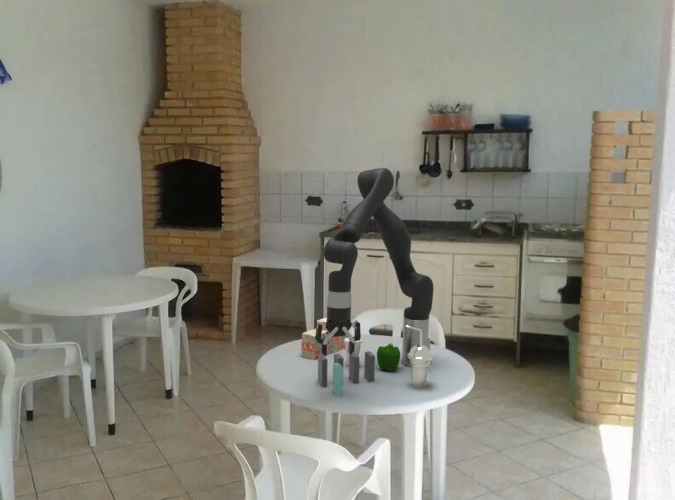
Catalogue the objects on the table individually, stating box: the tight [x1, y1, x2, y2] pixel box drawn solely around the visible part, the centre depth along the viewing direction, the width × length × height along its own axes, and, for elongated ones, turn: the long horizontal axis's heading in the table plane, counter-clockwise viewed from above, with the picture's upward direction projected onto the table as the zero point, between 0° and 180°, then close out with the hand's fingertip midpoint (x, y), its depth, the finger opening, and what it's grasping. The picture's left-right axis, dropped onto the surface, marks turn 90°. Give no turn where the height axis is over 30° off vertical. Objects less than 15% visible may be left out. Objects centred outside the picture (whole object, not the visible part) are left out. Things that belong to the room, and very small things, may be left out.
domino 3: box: [332, 362, 344, 397], centre depth 204 cm, size 2×5×9 cm, turn 17°
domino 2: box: [333, 353, 344, 368], centre depth 213 cm, size 2×5×9 cm, turn 17°
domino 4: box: [348, 353, 360, 384], centre depth 215 cm, size 2×5×9 cm, turn 17°
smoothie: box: [344, 329, 363, 367], centre depth 230 cm, size 6×6×14 cm
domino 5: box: [363, 351, 376, 383], centre depth 217 cm, size 2×5×9 cm, turn 17°
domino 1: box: [317, 355, 328, 387], centre depth 212 cm, size 2×5×9 cm, turn 17°
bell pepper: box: [376, 342, 401, 372], centre depth 227 cm, size 8×8×10 cm
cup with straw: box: [406, 325, 434, 389], centre depth 211 cm, size 8×9×20 cm
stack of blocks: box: [301, 316, 347, 361], centre depth 246 cm, size 21×6×12 cm, turn 144°
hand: (337, 354), depth 203 cm, fingers open, 8 cm apart
